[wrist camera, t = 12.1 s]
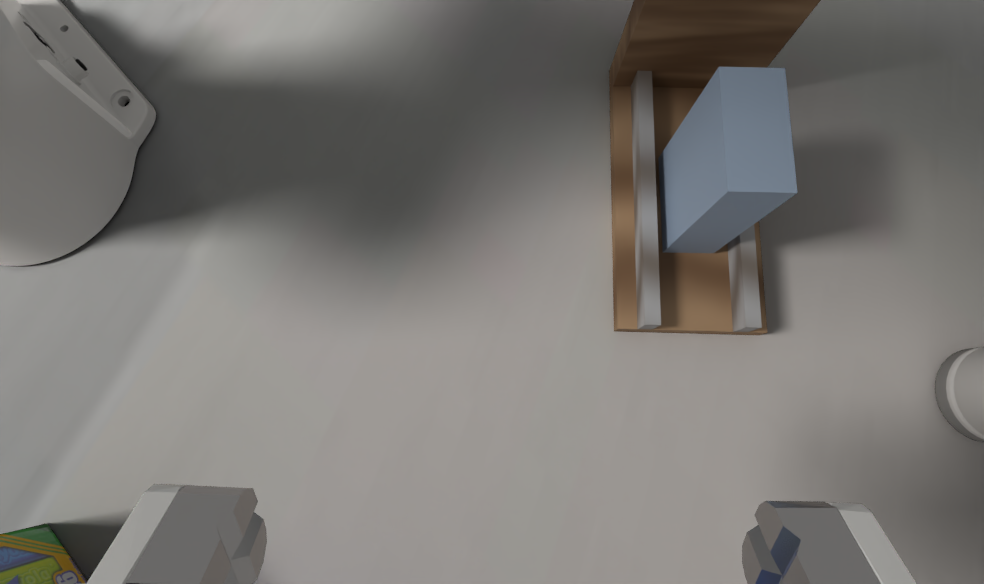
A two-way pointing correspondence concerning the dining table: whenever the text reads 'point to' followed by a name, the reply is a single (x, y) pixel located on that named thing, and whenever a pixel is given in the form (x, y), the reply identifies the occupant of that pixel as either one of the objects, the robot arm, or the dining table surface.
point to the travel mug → (963, 392)
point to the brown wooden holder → (644, 135)
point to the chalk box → (36, 558)
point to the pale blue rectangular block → (727, 160)
